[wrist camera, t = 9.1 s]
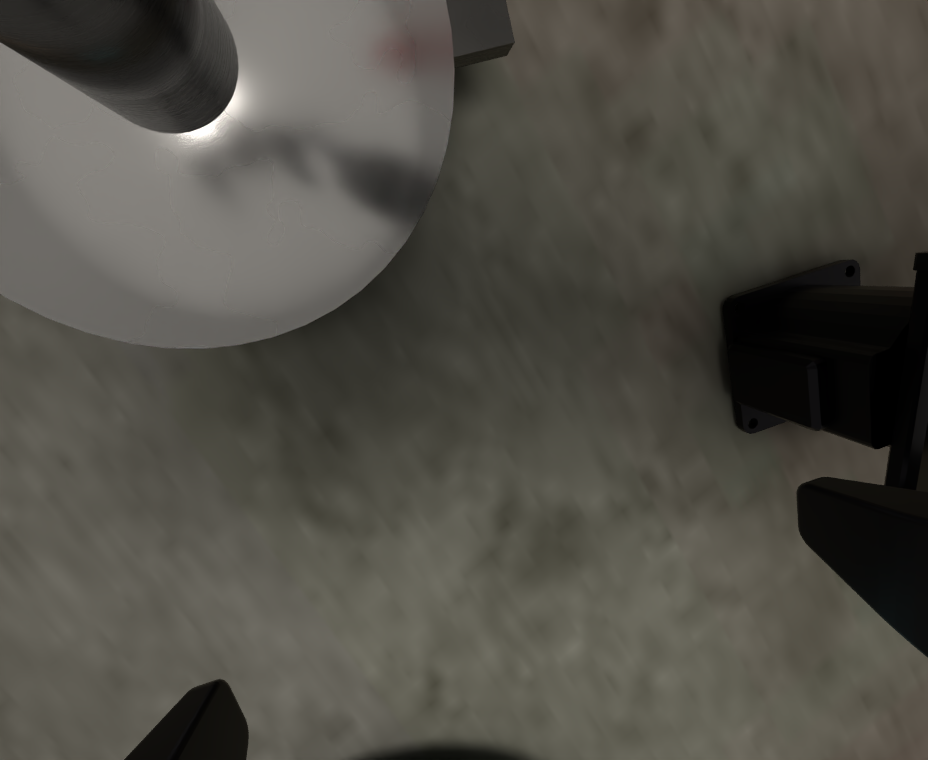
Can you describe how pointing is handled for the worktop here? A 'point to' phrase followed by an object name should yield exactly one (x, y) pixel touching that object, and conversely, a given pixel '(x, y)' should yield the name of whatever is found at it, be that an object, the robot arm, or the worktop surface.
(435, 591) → the worktop surface
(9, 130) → the lid
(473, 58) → the pot
